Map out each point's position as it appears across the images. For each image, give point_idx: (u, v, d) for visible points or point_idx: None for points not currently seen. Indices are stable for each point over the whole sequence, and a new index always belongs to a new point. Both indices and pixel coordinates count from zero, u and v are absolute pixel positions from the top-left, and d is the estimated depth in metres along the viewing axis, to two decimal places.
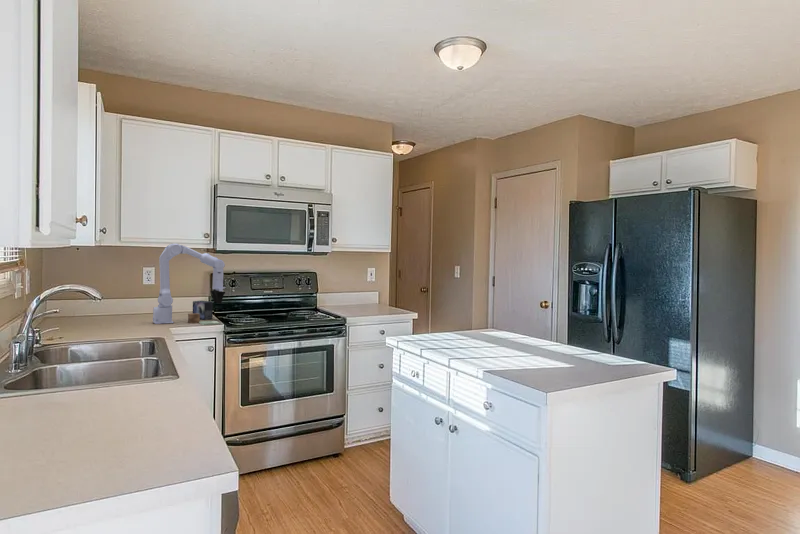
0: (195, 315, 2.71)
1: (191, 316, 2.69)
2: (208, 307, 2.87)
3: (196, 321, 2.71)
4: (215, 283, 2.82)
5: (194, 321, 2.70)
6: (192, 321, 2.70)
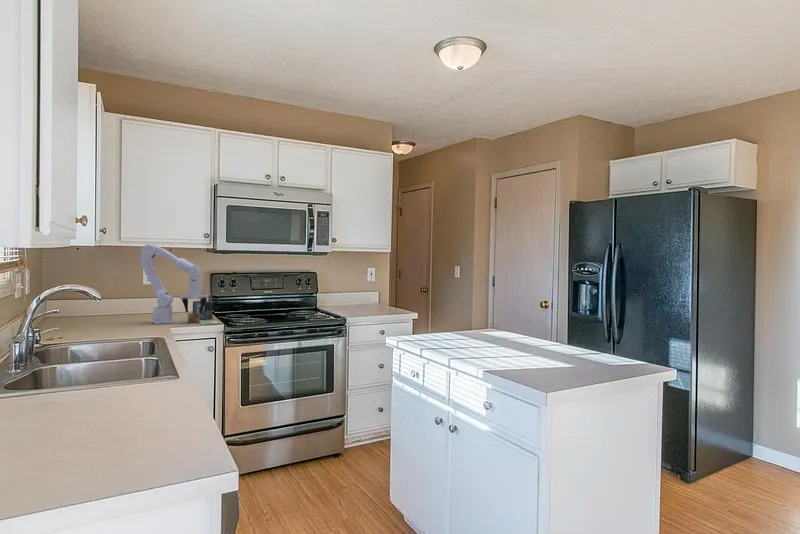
0: (195, 315, 2.71)
1: (191, 316, 2.69)
2: (208, 307, 2.87)
3: (196, 321, 2.71)
4: None
5: (194, 321, 2.70)
6: (192, 321, 2.70)
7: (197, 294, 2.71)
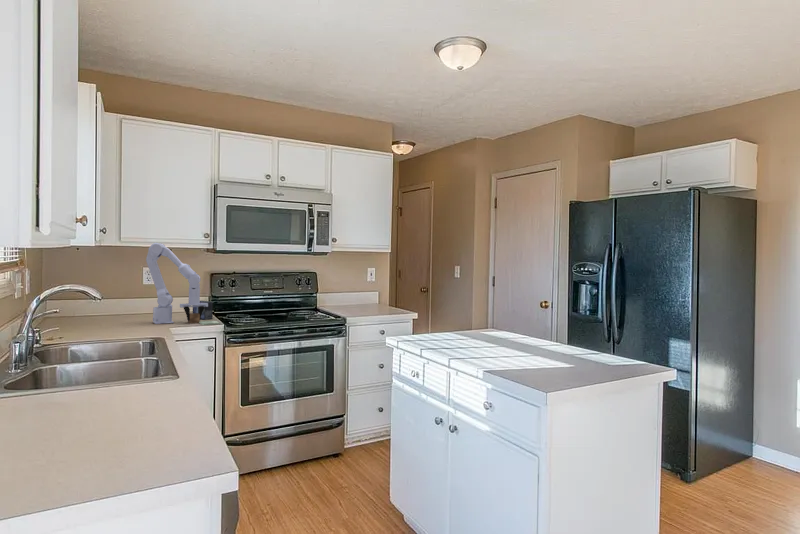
0: (195, 315, 2.71)
1: (191, 316, 2.69)
2: (208, 307, 2.87)
3: (196, 321, 2.71)
4: None
5: (194, 321, 2.70)
6: (192, 321, 2.70)
7: (197, 302, 2.71)
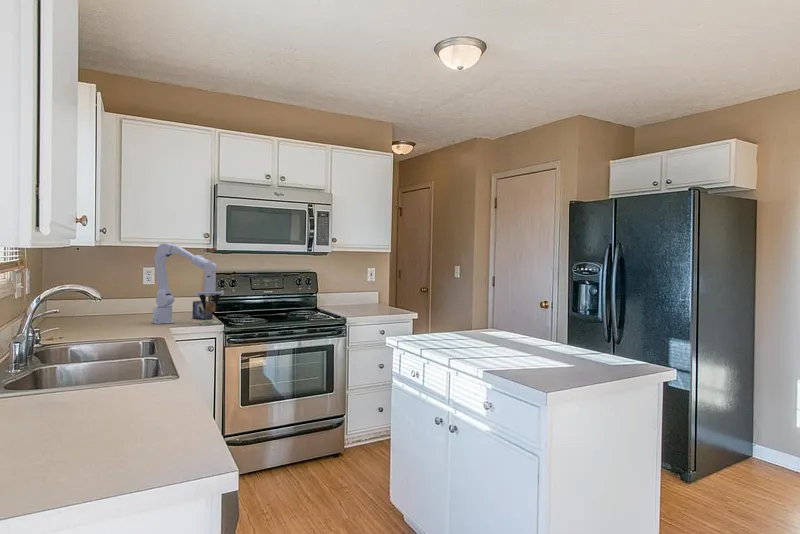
0: (211, 304, 2.68)
1: (207, 305, 2.67)
2: None
3: (212, 310, 2.69)
4: None
5: (210, 310, 2.68)
6: (208, 310, 2.67)
7: (213, 290, 2.68)
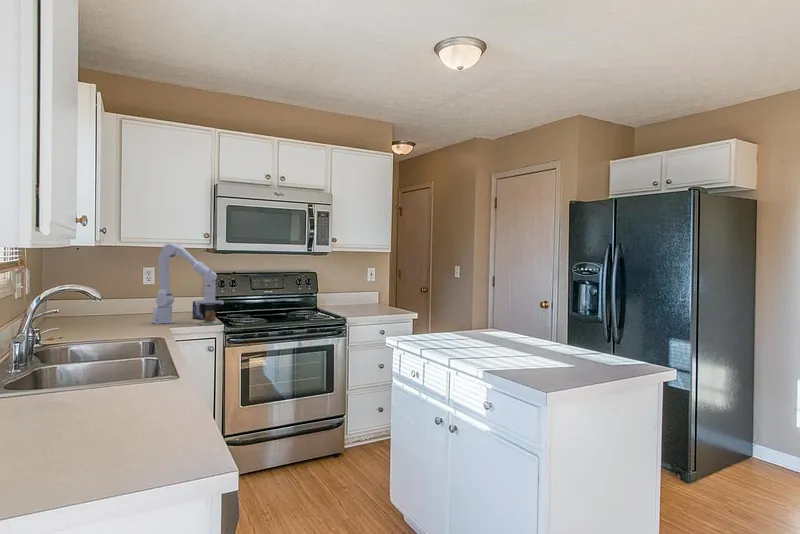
0: (211, 313, 2.68)
1: (207, 314, 2.67)
2: (208, 307, 2.87)
3: (212, 319, 2.69)
4: None
5: (210, 319, 2.68)
6: (208, 319, 2.67)
7: (212, 300, 2.68)
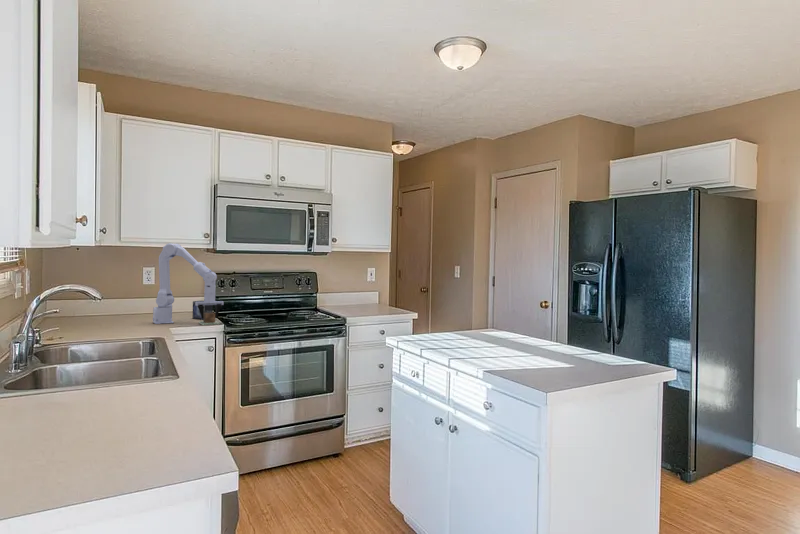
0: (211, 314, 2.68)
1: (207, 315, 2.67)
2: (208, 307, 2.87)
3: (212, 320, 2.69)
4: None
5: (210, 320, 2.68)
6: (208, 320, 2.67)
7: (212, 300, 2.68)
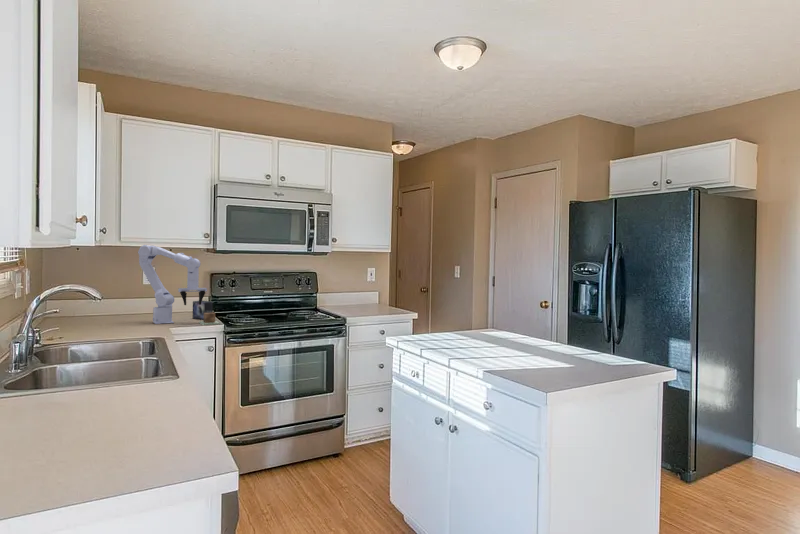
0: (211, 314, 2.68)
1: (207, 315, 2.67)
2: (208, 307, 2.87)
3: (212, 320, 2.69)
4: None
5: (210, 320, 2.68)
6: (208, 320, 2.67)
7: (196, 287, 2.67)
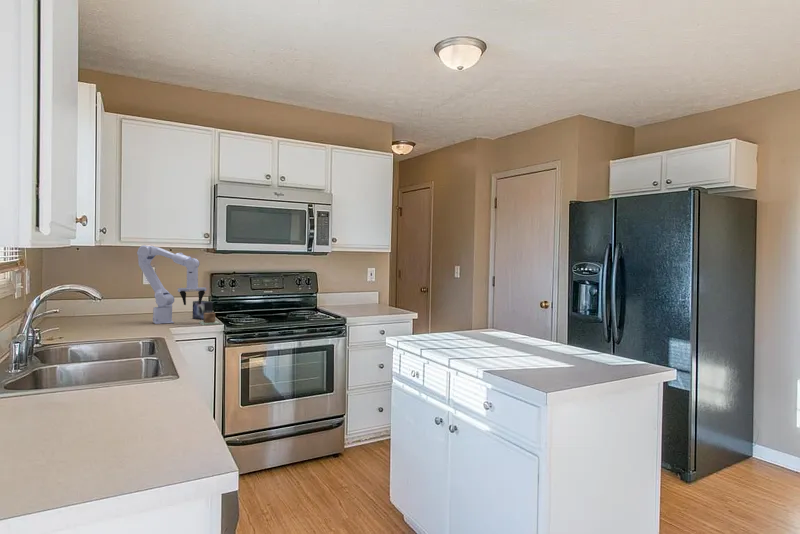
0: (211, 314, 2.68)
1: (207, 315, 2.67)
2: (208, 307, 2.87)
3: (212, 320, 2.69)
4: None
5: (210, 320, 2.68)
6: (208, 320, 2.67)
7: (195, 286, 2.67)
